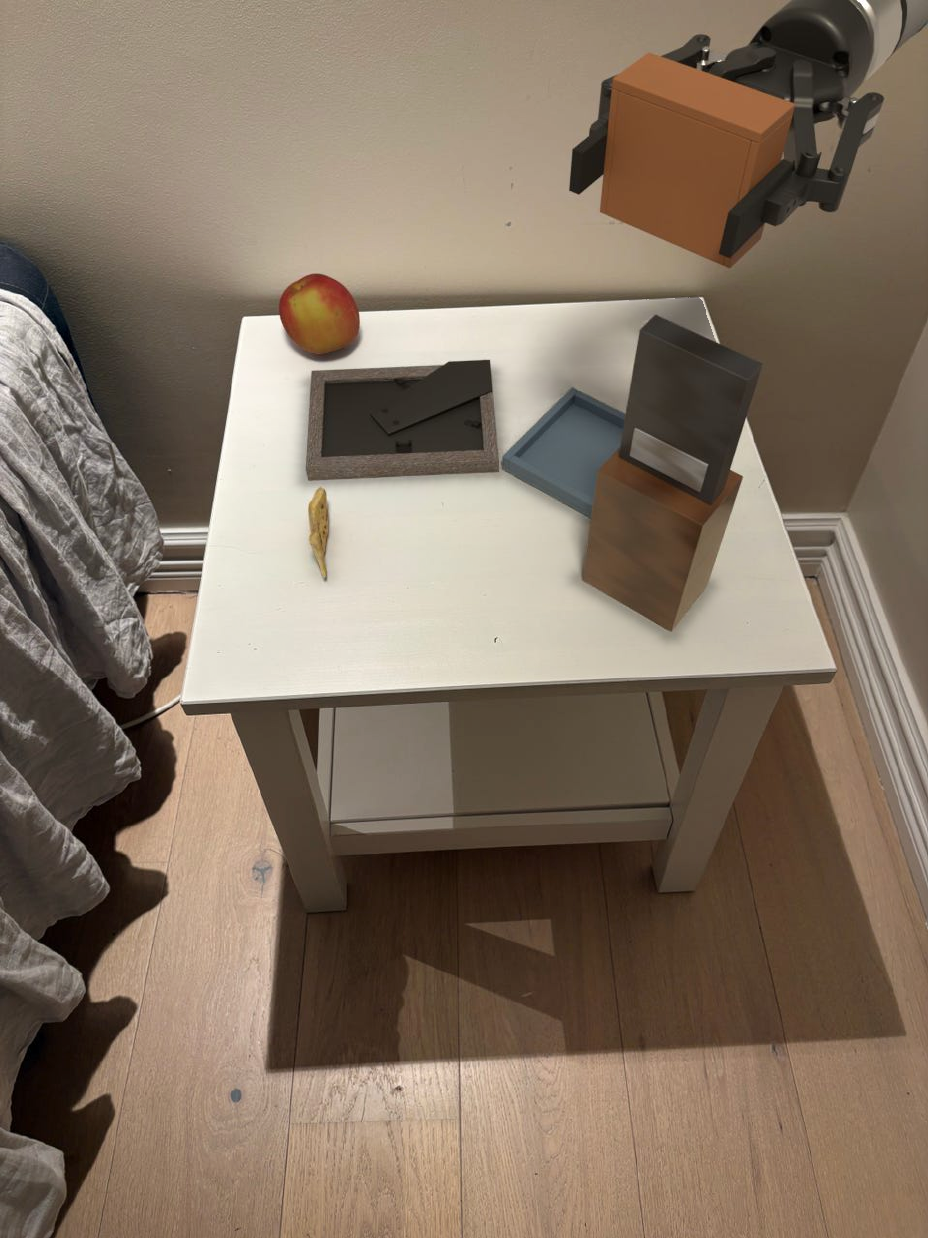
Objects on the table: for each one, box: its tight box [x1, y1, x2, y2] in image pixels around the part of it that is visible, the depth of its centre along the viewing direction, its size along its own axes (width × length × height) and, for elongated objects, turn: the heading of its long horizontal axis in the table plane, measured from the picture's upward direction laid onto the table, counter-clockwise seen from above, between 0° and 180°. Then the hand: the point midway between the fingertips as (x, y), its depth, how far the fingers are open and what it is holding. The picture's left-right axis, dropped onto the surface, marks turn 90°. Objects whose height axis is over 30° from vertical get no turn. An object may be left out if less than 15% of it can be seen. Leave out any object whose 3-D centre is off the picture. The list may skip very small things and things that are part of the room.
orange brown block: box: [599, 52, 795, 269], centre depth 59 cm, size 10×4×9 cm, turn 50°
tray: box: [501, 387, 626, 519], centre depth 91 cm, size 14×12×2 cm
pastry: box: [307, 486, 329, 579], centre depth 85 cm, size 9×2×5 cm, turn 4°
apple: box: [278, 273, 361, 355], centre depth 98 cm, size 8×8×8 cm
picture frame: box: [305, 359, 500, 481], centre depth 94 cm, size 13×2×18 cm
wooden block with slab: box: [581, 314, 764, 632], centre depth 73 cm, size 9×6×26 cm, turn 52°
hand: (650, 202), depth 57 cm, fingers closed on orange brown block, 10 cm apart
